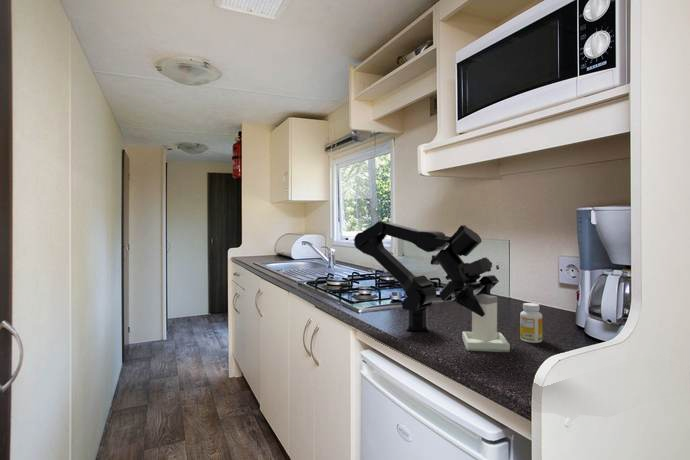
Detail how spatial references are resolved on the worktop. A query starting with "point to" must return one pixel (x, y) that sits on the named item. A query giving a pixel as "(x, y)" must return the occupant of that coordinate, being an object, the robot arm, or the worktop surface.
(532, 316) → the supplement bottle
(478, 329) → the block
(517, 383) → the worktop surface
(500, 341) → the tray
